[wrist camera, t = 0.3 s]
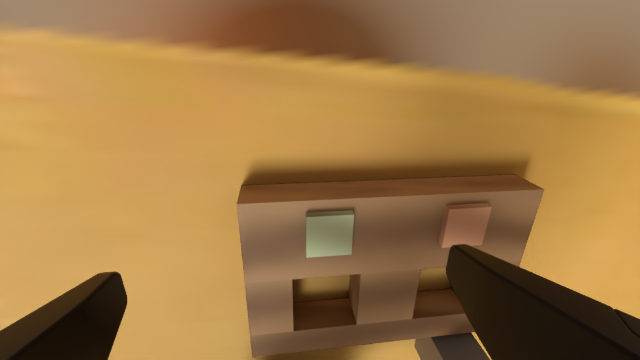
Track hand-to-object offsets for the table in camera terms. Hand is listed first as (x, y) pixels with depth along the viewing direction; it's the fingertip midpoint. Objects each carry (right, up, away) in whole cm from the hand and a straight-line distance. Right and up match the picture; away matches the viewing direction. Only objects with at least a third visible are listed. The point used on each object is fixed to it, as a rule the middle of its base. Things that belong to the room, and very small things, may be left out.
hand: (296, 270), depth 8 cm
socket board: (+6, -4, +18) cm, 19 cm away
